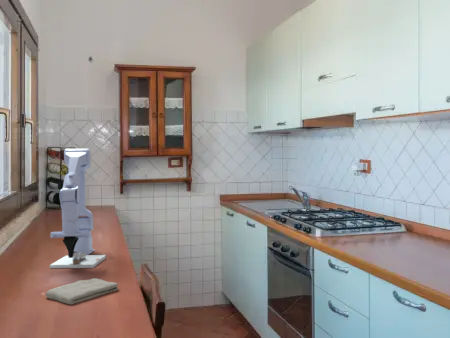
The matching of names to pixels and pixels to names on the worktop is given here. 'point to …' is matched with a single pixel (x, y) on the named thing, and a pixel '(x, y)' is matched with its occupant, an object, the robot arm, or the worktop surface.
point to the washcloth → (81, 290)
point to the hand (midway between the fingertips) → (71, 257)
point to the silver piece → (78, 256)
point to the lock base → (85, 263)
